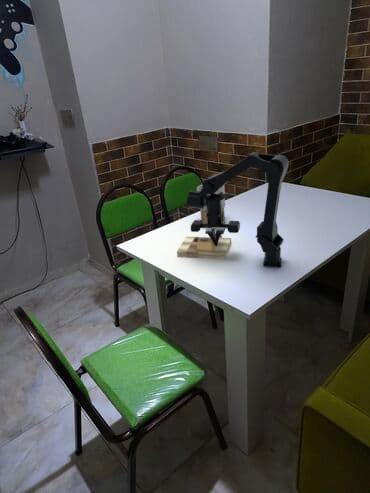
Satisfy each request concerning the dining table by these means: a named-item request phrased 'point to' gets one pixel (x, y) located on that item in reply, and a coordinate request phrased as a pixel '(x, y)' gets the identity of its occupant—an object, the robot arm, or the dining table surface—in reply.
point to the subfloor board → (190, 250)
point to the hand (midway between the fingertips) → (216, 245)
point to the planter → (204, 210)
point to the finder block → (205, 244)
